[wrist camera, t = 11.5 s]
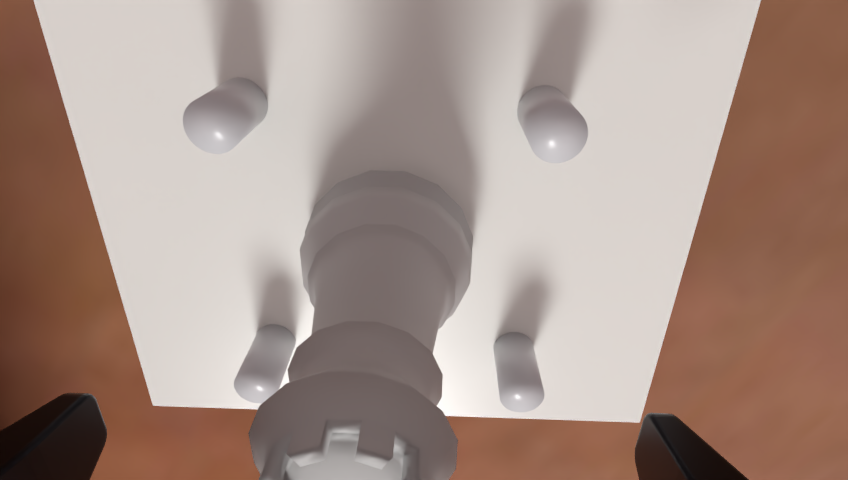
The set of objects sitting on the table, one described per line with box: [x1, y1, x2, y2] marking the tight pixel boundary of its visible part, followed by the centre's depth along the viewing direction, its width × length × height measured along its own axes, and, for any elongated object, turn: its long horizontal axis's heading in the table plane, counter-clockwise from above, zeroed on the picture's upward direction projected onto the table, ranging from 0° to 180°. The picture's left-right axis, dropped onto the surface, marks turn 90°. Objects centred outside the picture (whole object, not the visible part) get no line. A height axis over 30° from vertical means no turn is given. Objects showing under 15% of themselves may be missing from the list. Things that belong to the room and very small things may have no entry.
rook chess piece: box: [249, 170, 473, 480], centre depth 11 cm, size 4×4×8 cm
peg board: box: [34, 0, 761, 423], centre depth 14 cm, size 16×13×3 cm
